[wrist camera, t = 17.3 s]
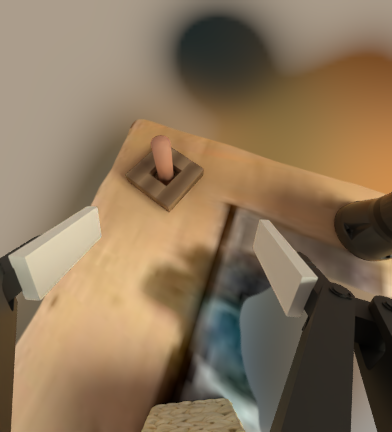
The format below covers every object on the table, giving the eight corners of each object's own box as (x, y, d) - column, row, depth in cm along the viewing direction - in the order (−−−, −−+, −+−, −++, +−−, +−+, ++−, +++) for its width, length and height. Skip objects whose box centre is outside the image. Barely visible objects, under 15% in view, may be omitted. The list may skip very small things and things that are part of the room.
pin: (177, 177, 49) (174, 142, 37) (167, 187, 48) (161, 154, 36) (165, 169, 50) (159, 132, 38) (155, 179, 49) (146, 143, 36)
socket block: (202, 175, 50) (203, 168, 47) (169, 212, 45) (168, 207, 43) (163, 149, 52) (162, 141, 50) (128, 181, 48) (125, 174, 45)
